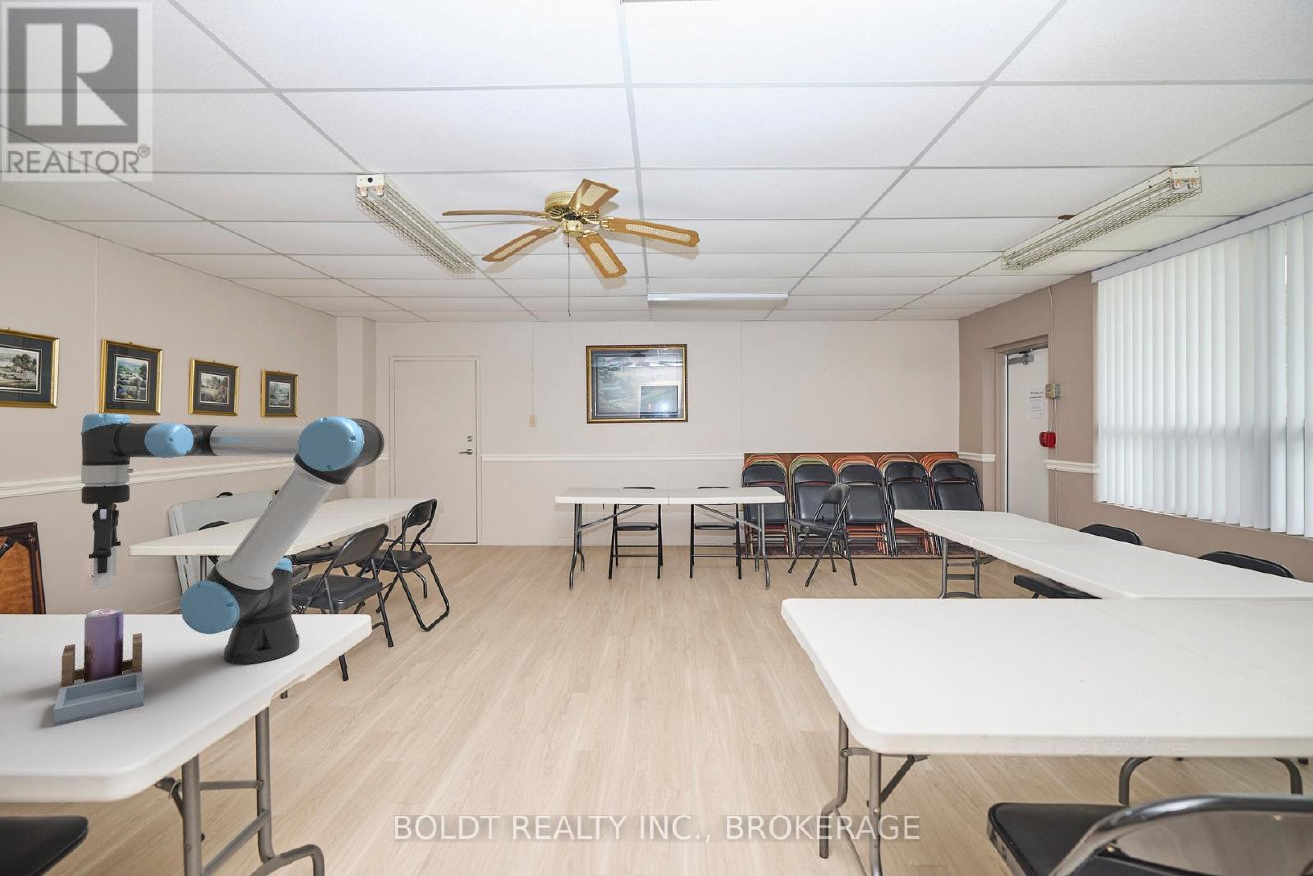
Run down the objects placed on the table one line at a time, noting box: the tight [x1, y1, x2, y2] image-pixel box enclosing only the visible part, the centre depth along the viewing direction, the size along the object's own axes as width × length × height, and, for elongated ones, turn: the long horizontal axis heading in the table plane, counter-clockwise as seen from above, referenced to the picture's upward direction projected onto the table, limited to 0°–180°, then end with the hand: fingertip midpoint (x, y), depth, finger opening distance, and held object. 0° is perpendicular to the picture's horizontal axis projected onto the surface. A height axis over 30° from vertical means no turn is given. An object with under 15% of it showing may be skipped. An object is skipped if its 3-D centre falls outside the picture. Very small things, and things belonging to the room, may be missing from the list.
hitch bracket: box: [60, 632, 143, 688], centre depth 121 cm, size 11×12×8 cm
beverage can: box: [83, 607, 125, 682], centre depth 121 cm, size 6×6×15 cm
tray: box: [53, 670, 145, 727], centre depth 110 cm, size 12×12×3 cm
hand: (105, 582), depth 122 cm, fingers open, 13 cm apart
